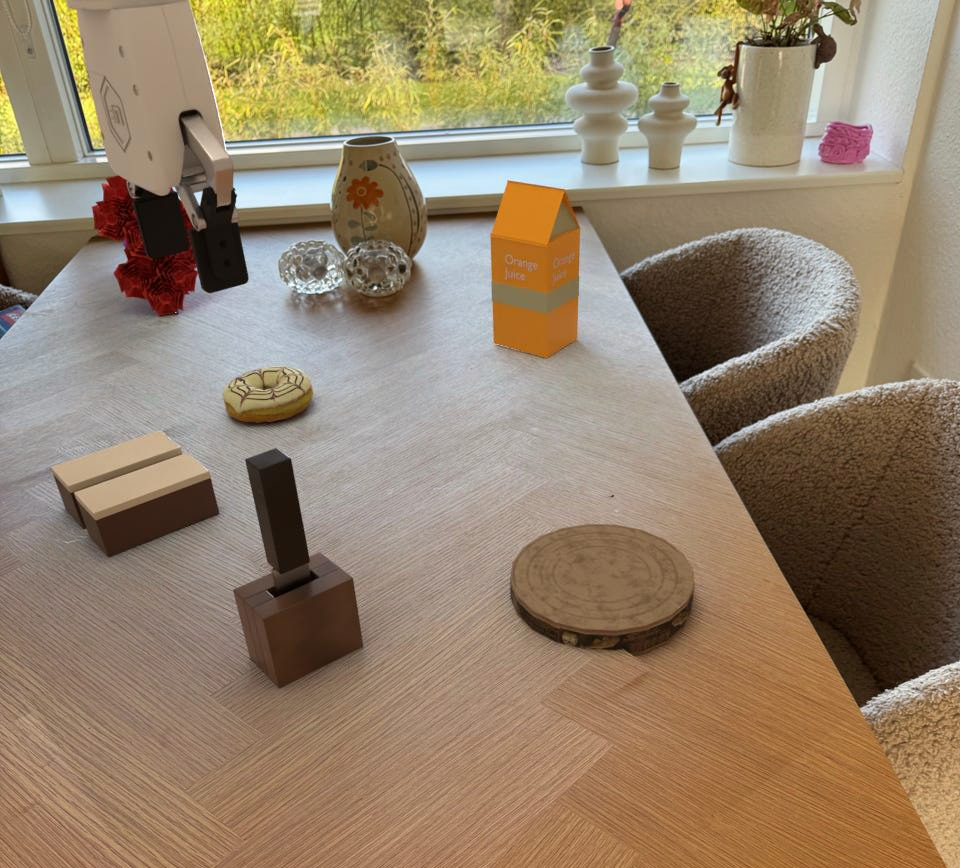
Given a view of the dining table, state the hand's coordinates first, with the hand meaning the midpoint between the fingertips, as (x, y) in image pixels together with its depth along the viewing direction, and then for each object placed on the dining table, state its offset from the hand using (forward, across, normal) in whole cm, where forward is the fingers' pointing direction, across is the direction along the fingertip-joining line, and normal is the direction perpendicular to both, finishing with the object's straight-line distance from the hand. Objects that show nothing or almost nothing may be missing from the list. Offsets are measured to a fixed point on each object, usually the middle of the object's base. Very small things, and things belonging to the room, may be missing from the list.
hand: (196, 270), depth 67 cm
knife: (+29, +8, -1) cm, 30 cm away
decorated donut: (+30, -37, +19) cm, 51 cm away
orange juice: (+30, -31, +56) cm, 71 cm away
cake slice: (+30, -21, -3) cm, 36 cm away
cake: (+30, -28, -3) cm, 41 cm away
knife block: (+30, +8, -1) cm, 31 cm away
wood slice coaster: (+30, +18, +23) cm, 42 cm away
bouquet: (+30, -90, +26) cm, 98 cm away
